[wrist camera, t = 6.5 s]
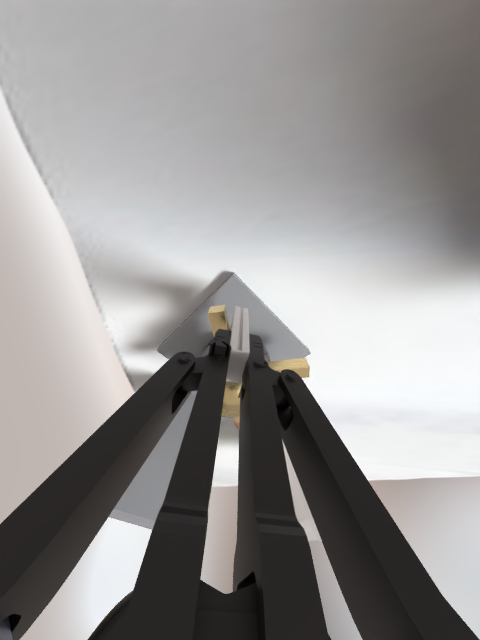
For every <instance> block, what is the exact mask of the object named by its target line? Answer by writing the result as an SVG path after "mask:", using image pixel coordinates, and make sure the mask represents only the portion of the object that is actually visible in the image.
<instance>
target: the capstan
mask: <svg viewBox="0 0 480 640" xmlns="http://www.w3.org/2000/svg"><path fill="white" fill-rule="evenodd" d="M208 316H209V320H210V324H211V328H212V331H213V335H214V336H215V333H216V331H217V330H218V329H224V330H229V331H230V325H229V320H228V315H227V311H226V306H225V305H219V306H212V307H210V309H209V311H208ZM213 340H214V339H213ZM213 340H212V341H213ZM212 341H211V342H212ZM211 342H209V343H208V344H207V346H206V347H205V348H204V350H203V352H202V355H201V357H204V356H206V355H208V354H209V348H210V343H211ZM263 350H264V357H265V360H266V361H267V362H268V365H269V367H270V368H271V369H273V370H275V371H278V372H280V373H281V371H282V370H284V369H289V370H292V371H294V372H296V373H297V374H298V375H299V376H300V377H301V378H305V377H309V365H308V363H307V361H306V359H305V358H298V359H289V360H280V361H270V356H269V353H268V351H267V349H266V348H265V346H264V345H263ZM241 385H242V381H241V384H240V383H234V382H228V381H226V385H225V393H224V400H223V407H222V414H221V416H224V417H235V419H234V422H235V425H236V427H237V428H238V429H239V423H240V398H238V396H239V392H240V389H241Z"/></svg>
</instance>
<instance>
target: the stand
mask: <svg viewBox="0 0 480 640" xmlns="http://www.w3.org/2000/svg"><path fill="white" fill-rule="evenodd" d="M219 305H225V306H226V311H227V315H228V320H229V325H230V330H231V325H232V320H233V315H234V311H235V306H239V307H244V308H248V314H249V334H252V335H258V336H260V338H261V339H262V343H263V345H264V346H265V348H266V349H267V351H268V353H269V356H270V361H280V360H289V359H298V358H304V357H306V356H307V355H309V354H311V353H310V351H309V349H308V348H307V347H306V346H305V345H304V344H303V343H302V342H301V341H300V340H299V339H298V338H297V337H296V336H295V335H294V334H293V333H292V332H291V331H290V330H289V329H288V328H287V327H286V326H285V325H284V324H283V323H282V321H281V320H280V319H279V318H278V317H277V316H276V315H275V314H274V313H273V312H272V311H271V310H270V309H269V308H268V307H267V306H266V305H265V304H264V303H263V302H262V301H261V300H260V299H259V298H258V297H257V296H256V295H255V294H254V293H253V292H252V291H251V290H250V289H249V288H248V287H247V286H246V285H245V284H244V283H243V282H242V281H241V280H240V279H239V278H238V277H237V275H236V274H235V273H233V274H232V275H231V276H230V277H229V278H228V279H227V280H226V281H225V282H224V283H223V284H222V285H221V286H220V287H219V288H218V289H217V290H216V291H215V292H214V293H213V294H212V295H211V296H210V297H209V298H208V299H207V300H206V301H205V302H204V303H203V304H202V305H201V306H200V307H199V308H198V309H197V310H196V311H195V312H194V313H193V314H192V315H191V316H190V317H189V318H188V319H187V320H186V321H185V322H184V323H183V324H182V325H181V326H180V327H179V328H178V329H177V330H176V331H175V332H174V333H173V334H172V335H171V336H170V337H169V338H168V339H167V340H166V341H165V342H164V343H163V344H162V345H161V346H160V347H159V348H158V350H157V351H158V352H159V353H161V354H162V355H164V356H165V357H166V358H168V359H170V358H171V357H172V356H173V355H175V354H176V353H178V352H190V353H192V354H193V355H194V356H195V358H197V357H201V355H202V352H203V350H204V348H205V347H206V346H207V344H208V343H209V342H211V341H212V340H213V339H214V335H213V331H212V328H211V324H210V320H209V316H208V311H209V309H210V307H212V306H219ZM196 394H197V391H191V394H190V395H189V397H188V398H187V400H186V401H185V403H184V404H183V406H182V407H181V409H180V410H179V412H178V413H177V415H176V416H175V418H174V419H173V421H172V422H171V424H170V425H169V427H168V428H167V430H166V431H165V433H164V434H163V436H162V437H161V439H160V440H159V442H158V443H157V445H156V446H155V448H154V449H153V451H152V452H151V454H150V455H149V457H148V458H147V460H146V461H145V463H144V464H143V466H142V467H141V469H140V470H139V472H138V473H137V475H136V476H135V478H134V479H133V481H132V482H131V484H130V485H129V487H128V488H127V490H126V491H125V493H124V494H123V496H122V497H121V499H120V500H119V502H118V503H117V505H116V506H115V508H114V509H113V511H112V512H111V514H110V515H109V517H111V518H114V519H117V520H121V521H125V522H128V523H131V524H135V525H138V526H142V527H145V528H149V529H152V530H153V527H154V524H155V521H156V518H157V515H158V513H159V510H160V509H161V507H162V504H163V502H164V499H165V496H166V492H167V489H168V486H169V482H170V479H171V476H172V473H173V469H174V466H175V463H176V459H177V456H178V453H179V450H180V446H181V443H182V440H183V437H184V433H185V430H186V427H187V423H188V420H189V417H190V414H191V410H192V407H193V404H194V400H195V397H196Z"/></svg>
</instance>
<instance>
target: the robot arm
mask: <svg viewBox="0 0 480 640" xmlns="http://www.w3.org/2000/svg"><path fill="white" fill-rule="evenodd" d="M226 381H228V382H234V383H240V384H241V381H242V385H241V389H240V392H239V396H238V398H240V423H239V470H238V518H237V519H238V521H237V544H236V551H235V558H234V572H233V592H232V593H230V594H224V593H222V592H220V591H218V590H216V589H215V588H213V587H211V586H210V585H208V584H206V583H205V582H203V581H201V580H200V576H201V568H202V561H203V554H204V546H205V540H206V532H207V523H208V508H209V500H210V493H211V486H212V479H213V471H214V464H215V457H216V450H217V443H218V436H219V428H220V421H221V414H222V407H223V400H224V393H225V385H226ZM191 391H197V394H196V397H195V400H194V404H193V407H192V410H191V414H190V417H189V420H188V423H187V427H186V430H185V433H184V437H183V440H182V443H181V446H180V450H179V453H178V456H177V459H176V463H175V466H174V469H173V473H172V476H171V479H170V482H169V486H168V489H167V492H166V496H165V499H164V502H163V504H162V507H161V509H160V510H159V513H158V515H157V518H156V521H155V524H154V527H153V530H152V533H151V536H150V539H149V542H148V546H147V549H146V552H145V555H144V558H143V562H142V565H141V568H140V571H139V575H138V578H137V581H136V584H135V587H134V590H133V591H132V592H131V593H129V594H128V595H127V596H125V597H124V598H123V599H122V600H121V601H120V602H119V603H118V604H117V605H116V606H115V607H114V608H113V609H112V610H111V611H110V612H109V613H108V615H107V616H106V617H105V618H104V619H103V620H102V622H101V623H100V624H99V626H98V627H97V628H96V629H95V631H94V632H93V633H92V635H91V636H90V637H89V639H88V640H331V638H330V636H329V635H328V632H327V628H326V623H325V618H324V614H323V608H322V603H321V598H320V594H319V589H318V584H317V579H316V574H315V569H314V565H313V560H312V555H311V550H310V546H309V542H308V538H307V535H306V533H305V530H304V528H303V527H302V526H301V524H300V523H299V522H298V520H297V517H296V514H295V509H294V504H293V498H292V492H291V487H290V481H289V476H288V470H287V464H286V459H285V453H284V448H283V442H284V445H285V448H286V450H287V453H288V455H289V458H290V460H291V463H292V466H293V468H294V471H295V473H296V476H297V478H298V481H299V484H300V486H301V489H302V491H303V494H304V496H305V499H306V501H307V504H308V507H309V509H310V512H311V514H312V517H313V519H314V522H315V525H316V527H317V530H318V532H319V535H320V537H321V540H322V543H323V545H324V548H325V550H326V553H327V555H328V558H329V560H330V563H331V566H332V568H333V571H334V573H335V576H336V578H337V581H338V584H339V586H340V589H341V591H342V594H343V596H344V598H345V601H346V603H347V606H348V608H349V610H350V613H351V615H352V618H353V620H354V622H355V624H356V626H357V628H358V631H359V633H360V635H361V637H362V639H363V640H479V639H478V638H477V636H476V635H475V634H474V633H473V631H472V630H471V629H470V628H469V627H468V626H467V624H466V623H465V622H464V621H463V620H462V618H461V617H460V616H459V615H458V614H457V613H456V611H455V610H454V609H453V608H452V607H451V605H450V604H449V603H448V602H447V601H446V599H445V598H444V597H443V596H442V594H441V593H440V592H439V590H438V588H437V587H436V585H435V584H434V582H433V581H432V579H431V577H430V576H429V574H428V573H427V571H426V570H425V568H424V567H423V565H422V563H421V562H420V560H419V559H418V557H417V556H416V554H415V553H414V551H413V550H412V548H411V547H410V545H409V543H408V542H407V540H406V539H405V537H404V536H403V534H402V533H401V531H400V530H399V528H398V526H397V525H396V523H395V522H394V520H393V519H392V517H391V516H390V514H389V513H388V511H387V509H386V508H385V507H384V505H383V503H382V502H381V500H380V499H379V497H378V496H377V494H376V493H375V491H374V490H373V488H372V486H371V485H370V483H369V482H368V480H367V479H366V477H365V476H364V474H363V473H362V471H361V469H360V468H359V466H358V465H357V463H356V462H355V460H354V459H353V457H352V456H351V454H350V452H349V451H348V449H347V448H346V446H345V445H344V443H343V442H342V440H341V439H340V437H339V436H338V434H337V432H336V431H335V429H334V428H333V426H332V425H331V423H330V422H329V420H328V419H327V417H326V416H325V414H324V412H323V411H322V409H321V408H320V406H319V405H318V403H317V402H316V400H315V399H314V397H313V395H312V394H311V392H310V391H309V389H308V388H307V386H306V385H305V383H304V382H303V380H302V379H301V377H300V376H299V375H298V374H297V373H296V372H294V371H292V370H289V369H284V370H282V371H281V373H280V372H278V371H275V370H273V369H271V368H270V367H269V365H268V362H267V361H266V360H265V357H264V350H263V343H262V339H261V338H260V336H258V335H252V334H249V314H248V308H244V307H239V306H235V311H234V315H233V320H232V325H231V330H230V331H229V330H224V329H218V330H217V331H216V333H215V336H214V340H213V341H212V342H211V343H210V348H209V354H208V355H206V356H204V357H197V358H195V356H194V355H193V354H192V353H190V352H178V353H176V354H175V355H173V356H172V357H171V358H170V359H169V360H168V361H167V362H166V363H165V364H164V365H163V366H162V367H161V368H160V369H159V370H158V371H157V372H156V373H155V374H154V375H153V376H152V377H151V378H150V379H149V380H148V381H147V382H146V383H145V384H144V385H143V386H142V387H141V388H140V389H139V390H138V391H136V392H135V393H134V394H133V395H132V396H131V397H130V398H129V399H128V400H127V401H126V402H125V403H124V404H123V405H122V406H121V407H120V408H119V409H118V410H117V411H116V412H115V413H114V414H113V415H112V416H111V417H110V418H109V419H108V420H107V421H106V422H105V423H104V424H103V425H102V426H101V427H100V428H99V429H97V430H96V431H95V432H94V433H93V435H91V436H90V437H89V438H88V439H87V440H86V441H85V442H84V443H83V444H82V445H81V446H80V447H79V448H78V449H77V450H76V451H75V452H74V453H73V454H72V455H71V456H70V457H69V458H68V459H67V460H66V461H65V462H64V463H63V464H62V465H61V466H60V467H59V468H58V469H57V470H55V471H54V472H53V473H52V474H51V475H50V476H49V477H48V478H47V479H46V480H45V481H44V482H43V483H42V484H41V485H40V486H39V487H38V488H37V489H36V490H35V491H34V492H33V493H32V494H31V495H30V496H29V497H28V498H27V499H26V500H25V501H24V502H23V503H22V504H21V505H19V506H18V507H17V508H16V509H15V510H14V511H13V512H12V513H11V514H10V515H9V516H8V517H7V518H6V519H5V520H4V521H3V522H2V523H1V524H0V640H19V639H20V638H21V637H22V636H23V635H24V634H25V632H26V631H27V630H28V629H29V628H30V626H31V625H32V624H33V622H34V621H35V620H36V619H37V617H38V616H39V615H40V614H41V612H42V611H43V610H44V609H45V607H46V606H47V605H48V603H49V602H50V601H51V599H52V598H53V597H54V596H55V594H56V593H57V592H58V590H59V589H60V587H61V586H62V584H63V583H64V582H65V580H66V579H67V577H68V576H69V575H70V573H71V572H72V570H73V569H74V567H75V566H76V564H77V563H78V561H79V560H80V558H81V557H82V555H83V554H84V552H85V551H86V549H87V548H88V546H89V544H90V543H91V542H92V541H93V539H94V537H95V536H96V535H97V533H98V532H99V530H100V528H101V527H102V525H103V524H104V522H105V521H106V520H107V518H108V517H109V515H110V514H111V512H112V511H113V509H114V508H115V506H116V505H117V503H118V502H119V500H120V499H121V497H122V496H123V494H124V493H125V491H126V490H127V488H128V487H129V485H130V484H131V482H132V481H133V479H134V478H135V476H136V475H137V473H138V472H139V470H140V469H141V467H142V466H143V464H144V463H145V461H146V460H147V458H148V457H149V455H150V454H151V452H152V451H153V449H154V448H155V446H156V445H157V443H158V442H159V440H160V439H161V437H162V436H163V434H164V433H165V431H166V430H167V428H168V427H169V425H170V424H171V422H172V421H173V419H174V418H175V416H176V415H177V413H178V412H179V410H180V409H181V407H182V406H183V404H184V403H185V401H186V400H187V398H188V397H189V395H190V394H191ZM282 440H283V442H282Z"/></svg>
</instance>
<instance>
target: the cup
mask: <svg viewBox="0 0 480 640" xmlns="http://www.w3.org/2000/svg"><path fill="white" fill-rule="evenodd" d="M282 442H283V440H282ZM283 448H284V453H285V459H286V464H287V470H288V476H289V481H290V487H291V492H292V498H293V504H294V509H295V514H296V517H297V520H298V522H299V523H300V524H301V526H302V527H303V528H304V530H305V533H306V535H307V538H308V542H321V541H322V540H321V537H320V535H319V532H318V530H317V527H316V525H315V522H314V519H313V517H312V514H311V512H310V509H309V507H308V504H307V501H306V499H305V496H304V494H303V491H302V489H301V486H300V484H299V481H298V478H297V476H296V473H295V471H294V468H293V466H292V463H291V460H290V458H289V455H288V453H287V450H286V448H285V445H284V442H283Z"/></svg>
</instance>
